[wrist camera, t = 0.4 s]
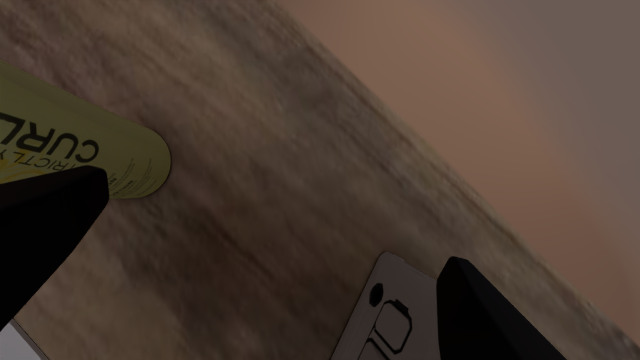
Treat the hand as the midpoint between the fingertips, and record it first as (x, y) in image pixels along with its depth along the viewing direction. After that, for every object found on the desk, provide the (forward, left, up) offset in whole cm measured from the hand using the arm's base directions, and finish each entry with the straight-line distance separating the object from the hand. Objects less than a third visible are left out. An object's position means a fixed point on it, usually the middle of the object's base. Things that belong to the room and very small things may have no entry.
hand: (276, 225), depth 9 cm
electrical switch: (-9, -5, -15) cm, 18 cm away
